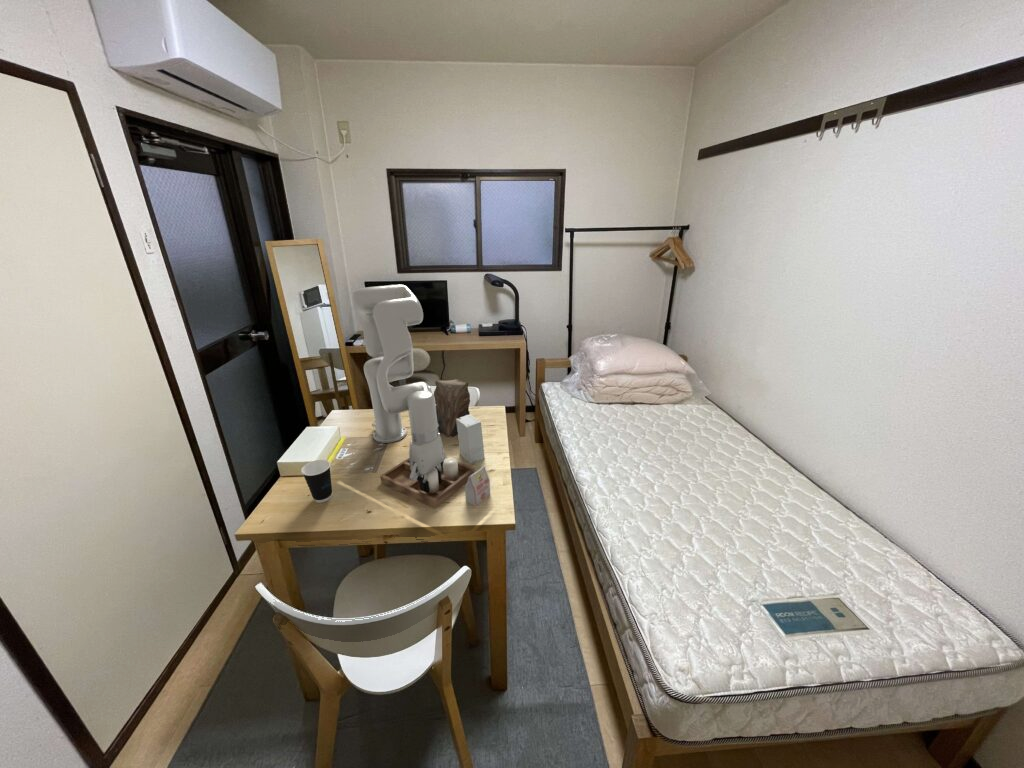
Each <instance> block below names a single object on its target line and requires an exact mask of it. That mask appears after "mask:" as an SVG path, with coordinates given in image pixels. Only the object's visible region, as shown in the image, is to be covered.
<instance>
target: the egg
mask: <svg viewBox="0 0 1024 768" xmlns="http://www.w3.org/2000/svg"><path fill="white" fill-rule="evenodd" d="M422 477H423V475H422ZM427 481H428V482H429V493H434V492H436V491H438V490H439V480H438V471H437V469H436V468H433V469H432V470H430V471H429V472H427Z"/></svg>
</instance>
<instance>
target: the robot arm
mask: <svg viewBox="0 0 1024 768" xmlns="http://www.w3.org/2000/svg"><path fill="white" fill-rule="evenodd" d="M352 302H353V306H354V309H355V310H356V312H357V313H358V315H359V317H360V320H361V324H362V333H363V338H364V339H363V340H364V346H365V350H366V353H367V354H368V356H370V357H373V358H371V359H368V360H367V361H365V363H364V364H363V372H364V373H363V374H364V376H365V379H366V381H367V385H368V388H369V393H370V394H369V395H370V400H371V404H372V409H373V410H372V411H373V416H374V422H373V423H372V424H371V427H372V428H373V427H374V429H375V431H374V432H373V433H372V436H373V440H374V441H376V442H377V443H380V444H381V443H382V444H383V443H384V444H388V443H389V444H390V443H395V442H398V441H400V440H402V439H403V438H405V437H406V436H407V433H408V430H407V428H406V427H405V426H404V425H403V423H402V416H401V413H405V412H408V419H409V424H410V425H409V426H410V434H411V441H410V442H409V450H408V454H409V455H408V458H409V460H410V469H411V474H410V477H409V478H410V479H412V480H418V481H419V483H420V489H421V490H422V491H424V492H426V493H429V482H428V481H427V472H429V471H430V470H432V469H433V468H436V469H437V471H438V480H439V484H441V483H442V481H441V471H442V465H443V463H444V460H445V458H446V457H447V456H448V455H447V454H446V453H445V451H444V445H443V441H442V438H441V434H440V432H439V430H438V427H439V424H438V423H437V414H436V404H435V397H434V393H433V392H432V388H431V386H430V385H429V384H428V383H427V382H425V381H417V382H412V383H406V384H404V385H398V386H393V385H391V384H390V383H392V382H394V381H400V380H404V379H408V378H411V377H412V376H413V374H414V371H415V370H414V352H413V351H414V346H413V341H412V336H411V333H410V331H409V328H408V327H409V326H416V325H420V324H421V323H422V322H423V320H424V312H423V311H424V310H423V308H422V305H421V302H420V301H419V299H418V298H417V296H416V295H415V294H414V292H412V290H411V289H410V288H409V287H408V286H407V285H404V284H399V283H398V284H388V285H378V286H368V287H367V286H366V287H362V288H361V287H360V288H357V289H356V290H354V292H353V293H352ZM421 475H423V477H421Z"/></svg>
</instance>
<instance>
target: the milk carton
mask: <svg viewBox="0 0 1024 768" xmlns="http://www.w3.org/2000/svg"><path fill="white" fill-rule="evenodd" d="M490 482H491V481H490V478H489V475H488V472H487V470H486V467H485V466H484V465H483V466H481V468H479V469H478V470H476V472H475V473H474V474H472V475H471V476H469V477H468V481H467V483H466V484H465V485H464V491H465V494H464V495H465V502H466V503H469V504H471V505H473V506H474V507H476V506H477V505H479V504H480V503H481V502H483V500H485V499H486V498H488V497H489V496H490V495H491V483H490Z"/></svg>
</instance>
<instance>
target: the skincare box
mask: <svg viewBox="0 0 1024 768" xmlns="http://www.w3.org/2000/svg"><path fill="white" fill-rule="evenodd" d="M456 423H457V431H458V435H457V437H458V446H459V455H461V456H462V457H463V459H465V460H466V461H467V462H468V463H469V464H473V463H476V462H480V461H482V460H484V459H485V457H486V456H485V450H484V441H483V440H484V438H483V437H484V436H483V431H482V429H483V428H482V421H480V420H479V419H478V418H477V417H475V416H473V415H472V414H471V413H470V414H469V415H466V416H463V417H460V418H457V419H456Z"/></svg>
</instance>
